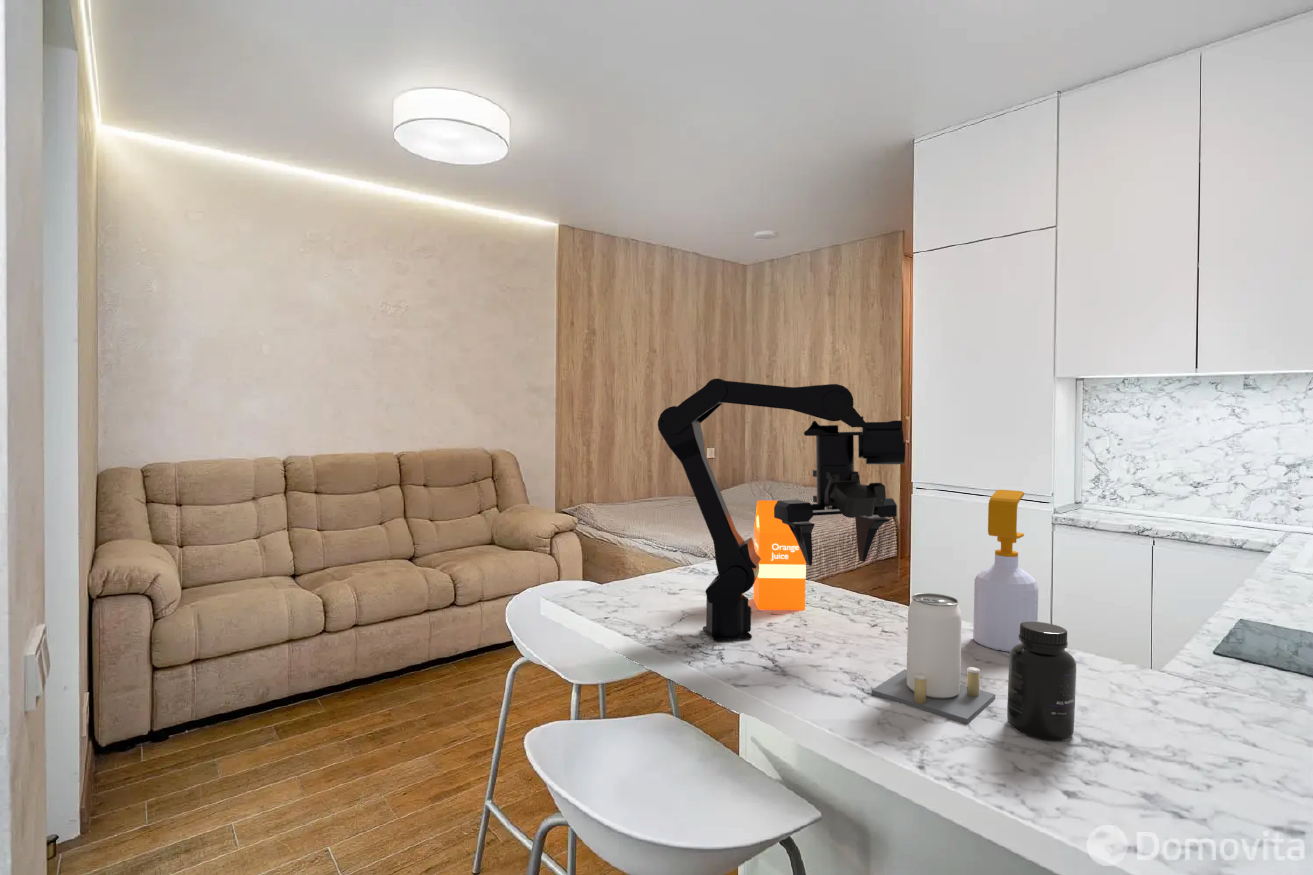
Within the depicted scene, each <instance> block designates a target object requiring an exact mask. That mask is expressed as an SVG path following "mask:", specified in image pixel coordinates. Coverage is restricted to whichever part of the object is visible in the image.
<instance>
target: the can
mask: <svg viewBox="0 0 1313 875" xmlns="http://www.w3.org/2000/svg"><path fill="white" fill-rule="evenodd" d="M911 598H912V600H911V601H910V604H909V606H908V609H907V636H906V637H907V640H906V642H907V643H906V644H907V645H906V649H907V650H906V670H907V685H908V687H909V688H910V690H911V691H913V692H914V685H915V674H916V673H921V674H925V675H926V676H927V687H926V697H928V698H933V699H950V698H954V697H955V696H957V694H959V692H960V685H961V675H962V674H961V671H962V670H961V668H962V666H961V664H962V629H963V628H962V627H963V626H962V624H963V622H962V618H963V617H962V612H961V609H960V607H959V600H958V599H957V598H955V597H953V596H949V595H945V594H940V593H930V592H926V593H925V592H924V593H921V592H920V593H915V594H913V595H912V596H911Z"/></svg>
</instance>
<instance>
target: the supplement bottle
mask: <svg viewBox="0 0 1313 875" xmlns="http://www.w3.org/2000/svg"><path fill="white" fill-rule="evenodd" d="M1019 640H1020V641H1021V643H1020V644H1018V645H1016V646H1014V647H1013V648H1012V649H1011V651H1010V652H1009V654H1008V656H1009V657H1008V676H1007V678H1008V679H1007V702H1006V703H1007V704H1006V705H1007V709H1006V710H1007V711H1006V714H1007V715H1006V718H1007V719H1006V720H1007V721H1008V724H1009V725H1010V726H1011V728H1013V729H1014V730H1015V731H1017V732H1019V733H1020V734H1023V735H1024V736H1028V737H1031V738H1034V739H1039V740H1042V741H1043V740H1044V741H1048V742H1049V741H1050V742H1063V741H1066V740H1068V739H1070V738H1071V737H1072V736H1073V735H1074V733H1075V732H1074V731H1075V717H1076V716H1075V714H1076V712H1075V709H1076V691H1077V690H1076V689H1077V686H1076V685H1077V684H1076V683H1077V662H1076V660H1075V658H1074V657H1073V656H1072V655H1071V654H1070V653H1069V652H1068V651H1067V650H1066V649H1067V648H1068V645H1069V644H1068V631H1067V629H1066V628H1064V627H1062V626H1060V625H1057V624H1053V623H1049V622H1048V623H1047V622H1042V621H1041V622H1040V621H1037V622H1022V623H1021V624H1020V634H1019Z"/></svg>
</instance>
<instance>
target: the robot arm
mask: <svg viewBox="0 0 1313 875" xmlns="http://www.w3.org/2000/svg"><path fill="white" fill-rule="evenodd" d="M723 404H735V405H744V406H753V407H762V408H763V407H764V408H771V409H781V410H791V411H794V412H798V413H801V414H805V415H808V416H812V417H815V418H818V419H822V420H826V421H829V422H839V421H841V422H843V423H844V424H845V425H847V426H849V427H851V428H861V431H839V424H832V425H831V424H828V425H826V424H825V425H824V424H823V425H820V424H819V423H818V421H816V420H813V421H812V423H811V425H810V426H809V427H808V428H807V429H806V430H804V432H803V435H804V436H805V437H813V436H815V439H816V440H815V445H816V446H815V448H816V449H815V451H816V454H815V456H816V457H815V458H816V460H815V461H816V469H812V477H814V478H816V495H812V502H813V503H811V502H809V501H805V500H800V499H784V500H783V499H781V500H776V501H777V503H776V504H775V506H774V518H777V519H780V520H782V523H784V524H787V525H788V526H789V527H790V529H791V531H792V533H793V534H794V536H795V538H796V540H797V543H798V545H799V547H800V549H801V552H802V554H803V556H804V559H805V561H806V566H812V565H813V558H814V557H813V556H814V555H813V539H812V538H813V537H812V535H813V534H812V532H813V530H814V527H815V523H814V522H810V520H811V519H812V518H813V517H814V516H815V517H816V516H832V515H843V517H846V518H849V519H853V518H855V519H854V520H855V530H856V544H857V545H856V546H857V554H858V559H859V561H860V562H862V563H864V562H865V561H866V560H867V557H868V555H869V552H870V549H871V547H872V543H873V540H874V538H875V536H876V534H877V533H878V530H879V529H880V528H881V527H882V526H883V525H884V524H886V523H890V520H891V518H896V517H898V505H897V503H896V501H895V499H894V498H893V497H887V496H886V495H887V493H886V485H884V484H883V483H882V482H870V483H869V484H862V483H861V480H860V474H859V471H856V470H855V446H854V445H855V444H854V443H855V442H854V439H855V438H854V436H857V455H858V456H857V457H858V458H859V459H863V460H865V464H866V465H905V460H906V441H905V440H904V430H903V421H902V420H900V419H899V420H897V419H896V420H890V421H889V420H888V421H865V420H864V416H863V415H862V416H861V415H860V414H859V413H858V411H857V410H856V408H854V405H855V404H854V397H853V394H852V392H851V391H850V390H849V389H848V387H846V386H844V385H841V384H838V383H830V384H818V385H817V384H816V385H815V384H814V385H805V386H795V387H794V386H784V385H773V384H771V385H770V384H762V383H752V382H744V381H743V382H742V381H732V380H725V379H722V378H712V379H710V380H708V382H707V383H706V384H705V385H704V386H703V387H702V388H700V389H699V390H698V391H696V392H694V393H693V394H692V395H690V396H688V398H686V399H684V401H681V403H680V404H679V405H677V406H676V405H673V406H669V407H667V408H665V409H664V410H663V411H662V412H661V413H660V415H659V418H658V420H657V427H658V428H657V429H658V431H659V433H660V435H661V436H662V438H663V439H664V442H665V443H666V445H667V446H668V448H669V449H670V451H671V452H672V453H673V454H674V455H675V456H676V458H677V459H678V460H679V461H680V463H681V466H682V467H683V470H684V473H685V475H686V477H687V480H688V482H689V485H690V487H691V490H692V492H693V495H694V497H695V500H696V503H697V504H698V507H699V509H700V512H701V514H702V517H703V519H704V521H705V525H706V526H707V529H708V531H709V533H710V534H709V535H710V536H711V540H712V542H713V547H714V548H713V549H714V557H715V564H716V570H717V574H718V575H716V576H715V578H713V580H712V582H710V584H709V585H708V586H707V588H706V589H705V591H704V592H705V594H706V595H705V596H706V609H705V612H706V619H705V620H706V621H705V626H702V630H703V632H704V633H706V635H708V636H709V638H710V639H712V640H713V641H714V642H724V641H734V640H736V641H737V640H738V641H740V640H750V639H752V638H753V635H752V634H751V633H750V632H751V631H752V628H751V626H752V607H751V606H750V605H749V598H748V597H747V596H746V595H744V593H747V592H748V591H750V590H751V588H752V587H753V585H754V582H755V580H756V578H757V576H758V574H759V562H760V560H761V558H760V557H759V556H758V555H757V553H756V551H755V548H754V539H753V538H752V537H749V538H748V539H746V540H745V539H744V538H743V537H742V536H741V535H740V533H739V532H738V531H737V529H736V527H735V524H734V522H733V521H734V520H733V519H732V516H731V513H730V512H729V509H728V507H727V504H726V502H725V500H724V497H723V494H722V492H721V490H720V487H719V485H718V483H717V480H716V477H715V475H714V473H713V470H712V468H711V465H710V463H709V460H708V458H707V455H706V452H705V443H704V442H705V440H704V435H703V429H702V423H703V422H704V421H705V420H706V419H708V418H709V417H711V415H712V414H713V413H714V412H715V411H716V410H718V409H719V407H720V406H722V405H723Z"/></svg>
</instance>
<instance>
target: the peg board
mask: <svg viewBox="0 0 1313 875" xmlns="http://www.w3.org/2000/svg"><path fill="white" fill-rule="evenodd" d="M966 669H967V673H966V676H967V677H966V679H967V680H966V685H963V684H960V692H959V694H957V696H955V697H954V698H950V699H933V698H928V697H926V687H927V676H926V675H925V674H921V673H916V674H915V685H914V692H913V691H911V690H910V688H909V687H908V685H907V669H903V670H901V671H900V672H898V673H896V674H895V675H893V676H892V677H890V678H888V679H887V680H885V681H883V682H882V683H880V684H879V685H877V686H876V687H874V688H872V689H871V695H873V696H876V697H879V698H882V699H887V700H888V701H892V702H895V703H899V704H902V705H905V706H907V707H908V706H909V707H910V708H911V707H912V708H915V709H918V710H921V711H925V712H928V713H931V714H934V715H937V716H941V717H944V718H947V719H950V720H954V721H956V722H960V723H963V724H966V725H968V724H969V723H970V722H971V721H972V720H973V719H974V718H976V717H977V716H978V715H979V714H980V713H981V712H982V711H984V709H986V708H987V707H988V706H989V705H990V704H991V703H993V701H994V700H995V699H996V694H995V693H992V692H989V691H987V690H985V691H984V690H981V689H980V669H979V668H977V667H973V666H968V667H967V668H966Z"/></svg>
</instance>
